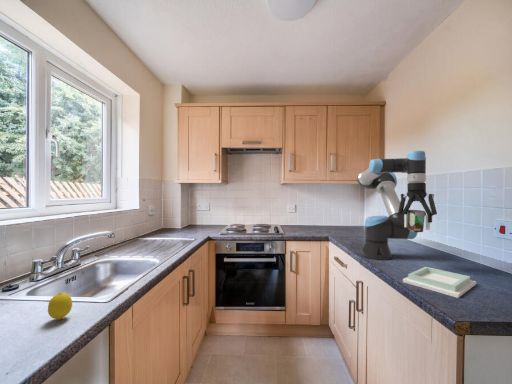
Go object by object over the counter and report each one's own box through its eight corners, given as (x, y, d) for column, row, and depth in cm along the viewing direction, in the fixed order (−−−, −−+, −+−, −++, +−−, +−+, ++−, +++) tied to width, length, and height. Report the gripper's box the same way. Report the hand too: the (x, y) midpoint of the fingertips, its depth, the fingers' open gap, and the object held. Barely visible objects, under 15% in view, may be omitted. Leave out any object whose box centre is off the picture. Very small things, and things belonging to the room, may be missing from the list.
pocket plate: (402, 281, 97) (402, 274, 97) (424, 272, 109) (424, 265, 109) (458, 297, 82) (458, 288, 82) (476, 284, 94) (475, 276, 94)
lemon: (55, 326, 66) (55, 297, 66) (43, 322, 68) (43, 294, 68) (76, 316, 71) (76, 290, 71) (64, 313, 73) (64, 287, 73)
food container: (430, 233, 109) (430, 211, 109) (415, 232, 111) (415, 211, 111) (420, 229, 121) (420, 210, 121) (407, 228, 123) (407, 209, 123)
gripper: (390, 183, 123) (390, 226, 123) (439, 181, 105) (440, 231, 105) (397, 183, 127) (397, 225, 127) (445, 181, 110) (446, 230, 110)
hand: (416, 228), depth 116 cm, fingers closed on food container, 9 cm apart
